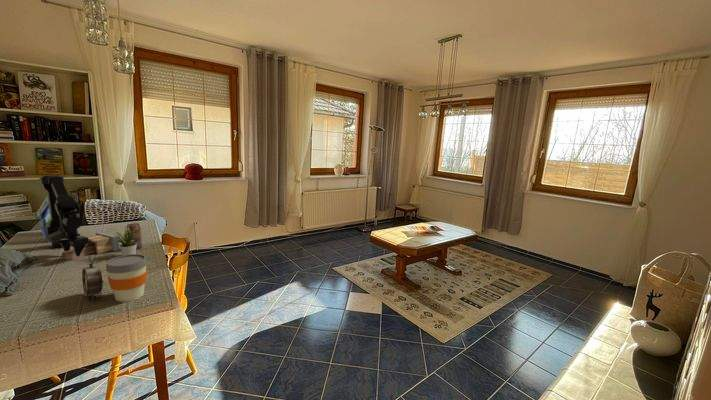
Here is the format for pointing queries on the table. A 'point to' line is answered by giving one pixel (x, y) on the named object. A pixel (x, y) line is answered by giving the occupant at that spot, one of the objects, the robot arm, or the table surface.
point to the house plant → (128, 241)
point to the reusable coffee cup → (127, 276)
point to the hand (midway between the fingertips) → (72, 254)
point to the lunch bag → (44, 216)
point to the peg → (86, 250)
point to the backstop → (113, 238)
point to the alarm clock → (92, 280)
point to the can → (138, 241)
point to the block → (100, 243)
